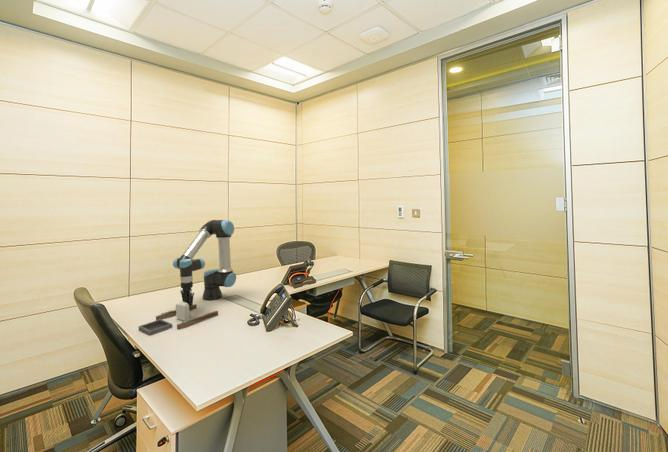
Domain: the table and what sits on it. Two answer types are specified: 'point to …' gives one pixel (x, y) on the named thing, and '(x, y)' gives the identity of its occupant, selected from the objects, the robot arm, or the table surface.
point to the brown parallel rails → (189, 321)
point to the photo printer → (182, 311)
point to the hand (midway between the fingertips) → (188, 314)
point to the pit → (155, 327)
